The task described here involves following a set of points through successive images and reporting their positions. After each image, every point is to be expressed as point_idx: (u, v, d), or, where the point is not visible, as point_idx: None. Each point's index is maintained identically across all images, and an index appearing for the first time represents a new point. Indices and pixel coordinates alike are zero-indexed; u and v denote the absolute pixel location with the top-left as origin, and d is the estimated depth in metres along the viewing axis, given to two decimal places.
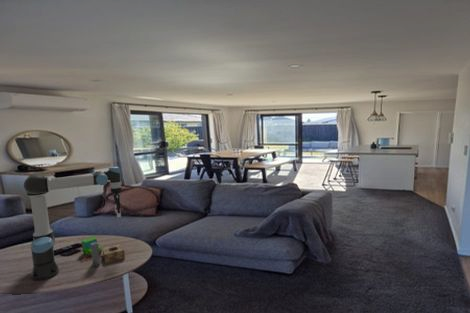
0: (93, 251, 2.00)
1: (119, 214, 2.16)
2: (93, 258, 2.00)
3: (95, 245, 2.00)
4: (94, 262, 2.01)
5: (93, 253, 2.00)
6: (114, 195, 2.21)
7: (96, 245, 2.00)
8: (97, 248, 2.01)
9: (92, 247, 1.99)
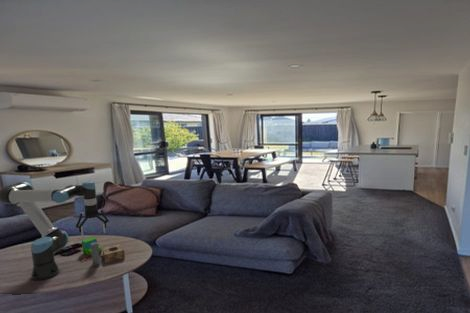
0: (93, 251, 2.00)
1: None
2: (93, 258, 2.00)
3: (95, 245, 2.00)
4: (94, 262, 2.01)
5: (93, 253, 2.00)
6: None
7: (96, 245, 2.00)
8: (97, 248, 2.01)
9: (92, 247, 1.99)
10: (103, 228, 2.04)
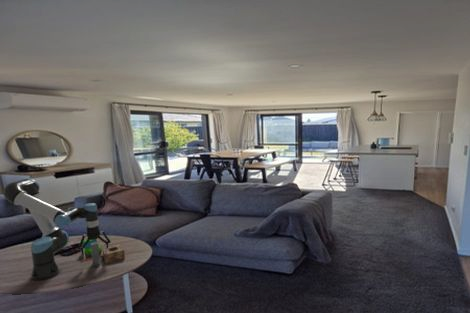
0: (93, 251, 2.00)
1: None
2: (93, 258, 2.00)
3: (95, 245, 2.00)
4: (94, 262, 2.01)
5: (93, 253, 2.00)
6: None
7: (96, 245, 2.00)
8: (97, 248, 2.01)
9: (92, 247, 1.99)
10: (105, 249, 2.05)
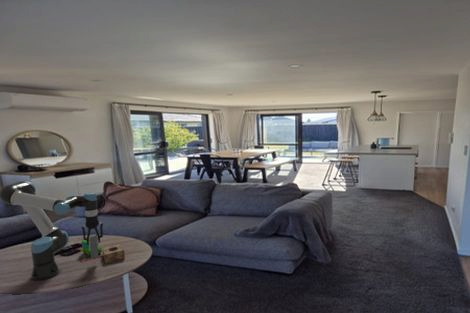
0: (92, 243, 1.99)
1: (89, 246, 2.00)
2: (91, 250, 1.99)
3: (94, 237, 1.99)
4: (92, 254, 2.00)
5: (92, 245, 1.99)
6: None
7: (95, 237, 2.00)
8: (96, 240, 2.00)
9: (91, 239, 1.98)
10: (97, 243, 2.02)
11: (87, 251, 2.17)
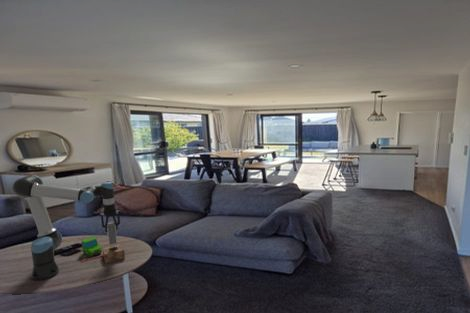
0: (110, 230, 2.09)
1: (107, 233, 2.10)
2: (110, 237, 2.09)
3: (112, 224, 2.09)
4: (111, 241, 2.09)
5: (110, 232, 2.09)
6: None
7: (113, 224, 2.09)
8: (114, 227, 2.10)
9: (109, 226, 2.08)
10: None
11: (87, 251, 2.17)
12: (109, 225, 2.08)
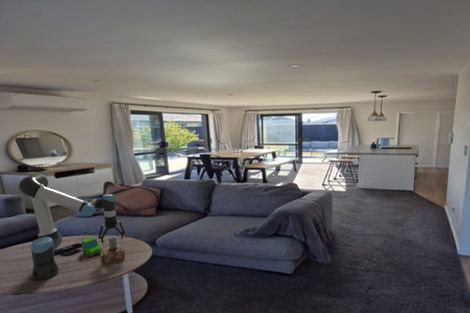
0: (111, 244, 2.10)
1: (103, 244, 2.09)
2: None
3: (113, 239, 2.10)
4: None
5: (111, 246, 2.10)
6: None
7: (114, 239, 2.10)
8: (115, 242, 2.11)
9: (110, 241, 2.09)
10: (120, 239, 2.14)
11: (87, 251, 2.17)
12: (110, 239, 2.09)
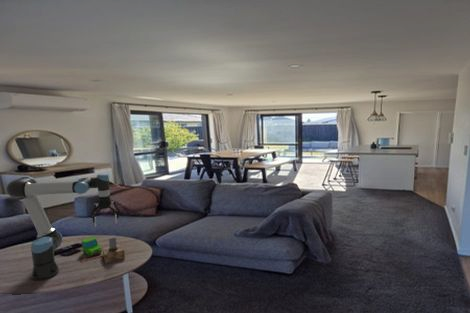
0: (111, 244, 2.10)
1: None
2: None
3: (113, 239, 2.10)
4: None
5: (111, 246, 2.10)
6: None
7: (114, 239, 2.10)
8: (115, 242, 2.11)
9: (110, 241, 2.09)
10: (115, 219, 2.12)
11: (87, 251, 2.17)
12: (110, 239, 2.09)
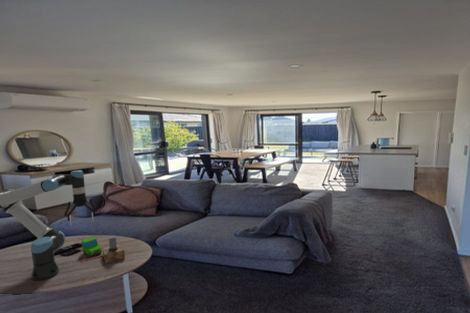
0: (111, 244, 2.10)
1: (70, 222, 1.99)
2: None
3: (113, 239, 2.10)
4: None
5: (111, 246, 2.10)
6: None
7: (114, 239, 2.10)
8: (115, 242, 2.11)
9: (110, 241, 2.09)
10: (92, 217, 2.06)
11: (87, 251, 2.17)
12: (110, 239, 2.09)
